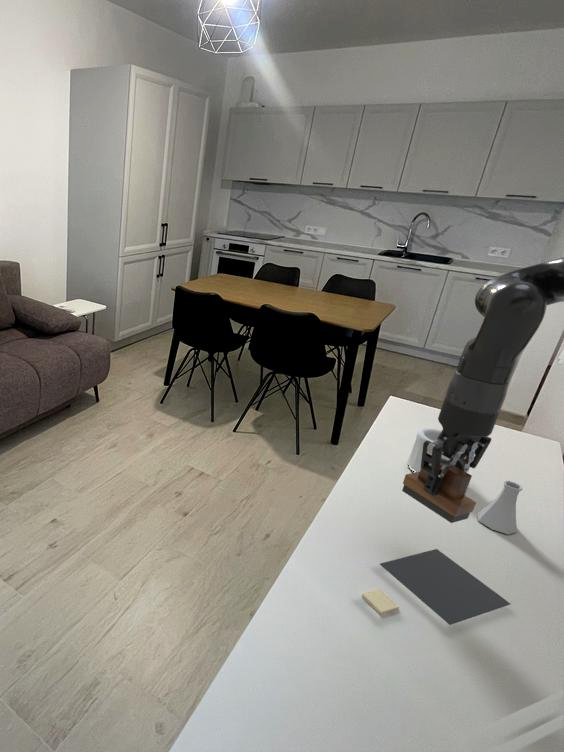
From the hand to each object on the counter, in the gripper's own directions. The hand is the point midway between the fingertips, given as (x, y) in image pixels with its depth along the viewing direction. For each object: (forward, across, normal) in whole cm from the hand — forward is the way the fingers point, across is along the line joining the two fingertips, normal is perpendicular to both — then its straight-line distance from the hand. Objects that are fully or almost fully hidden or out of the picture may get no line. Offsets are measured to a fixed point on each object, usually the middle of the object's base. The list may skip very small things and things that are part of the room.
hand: (440, 490), depth 86 cm
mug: (+17, +37, +24) cm, 47 cm away
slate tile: (+17, 0, -6) cm, 18 cm away
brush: (+3, 0, 0) cm, 3 cm away
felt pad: (+17, -15, -5) cm, 23 cm away
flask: (+17, +30, +4) cm, 35 cm away
